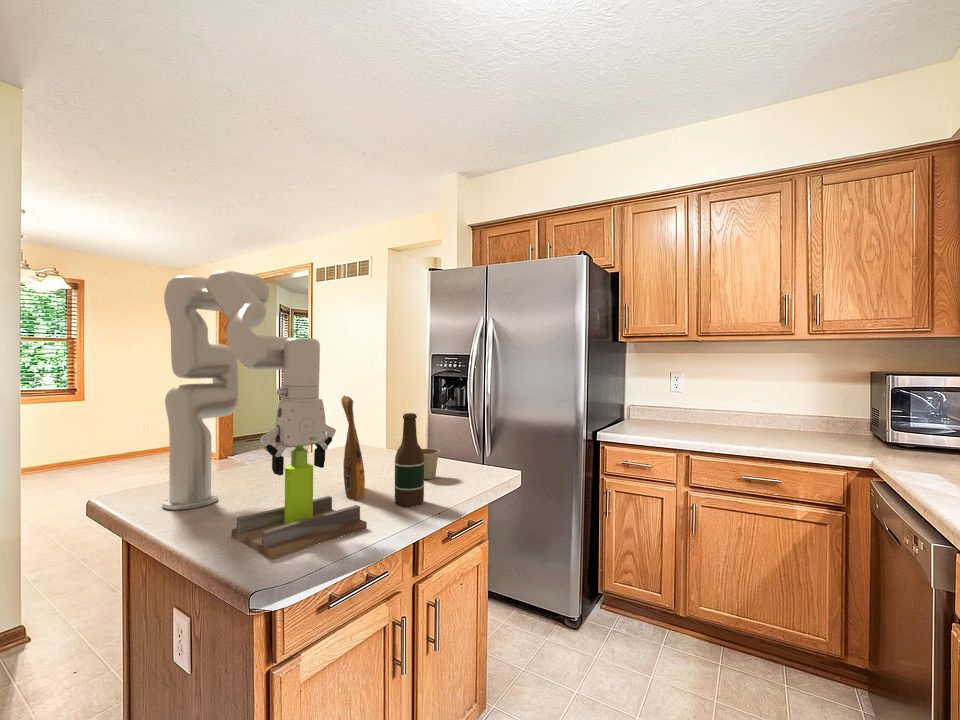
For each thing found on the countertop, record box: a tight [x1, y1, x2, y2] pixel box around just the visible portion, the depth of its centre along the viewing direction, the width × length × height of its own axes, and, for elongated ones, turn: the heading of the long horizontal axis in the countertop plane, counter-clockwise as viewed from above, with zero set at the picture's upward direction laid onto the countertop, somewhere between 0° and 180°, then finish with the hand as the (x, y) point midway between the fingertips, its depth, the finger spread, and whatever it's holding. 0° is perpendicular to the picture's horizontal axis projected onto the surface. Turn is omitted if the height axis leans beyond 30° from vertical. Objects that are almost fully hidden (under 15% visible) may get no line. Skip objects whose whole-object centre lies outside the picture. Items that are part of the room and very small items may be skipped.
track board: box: [231, 495, 368, 560], centre depth 104 cm, size 18×22×4 cm
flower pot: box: [421, 448, 441, 481], centre depth 154 cm, size 9×9×9 cm
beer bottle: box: [394, 412, 425, 508], centre depth 126 cm, size 8×8×24 cm
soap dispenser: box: [284, 437, 317, 525], centre depth 105 cm, size 6×7×20 cm
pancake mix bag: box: [340, 394, 366, 501], centre depth 136 cm, size 7×19×28 cm, turn 16°
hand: (299, 470), depth 105 cm, fingers open, 9 cm apart
